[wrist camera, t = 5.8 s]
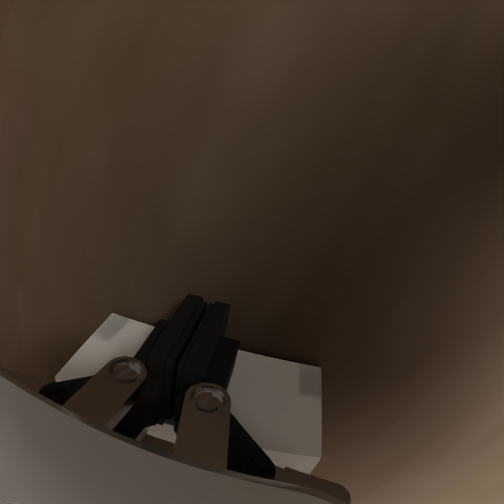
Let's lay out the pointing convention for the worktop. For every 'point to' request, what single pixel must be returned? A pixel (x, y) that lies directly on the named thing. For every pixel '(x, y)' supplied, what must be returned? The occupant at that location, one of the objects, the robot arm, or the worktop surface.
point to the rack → (232, 393)
